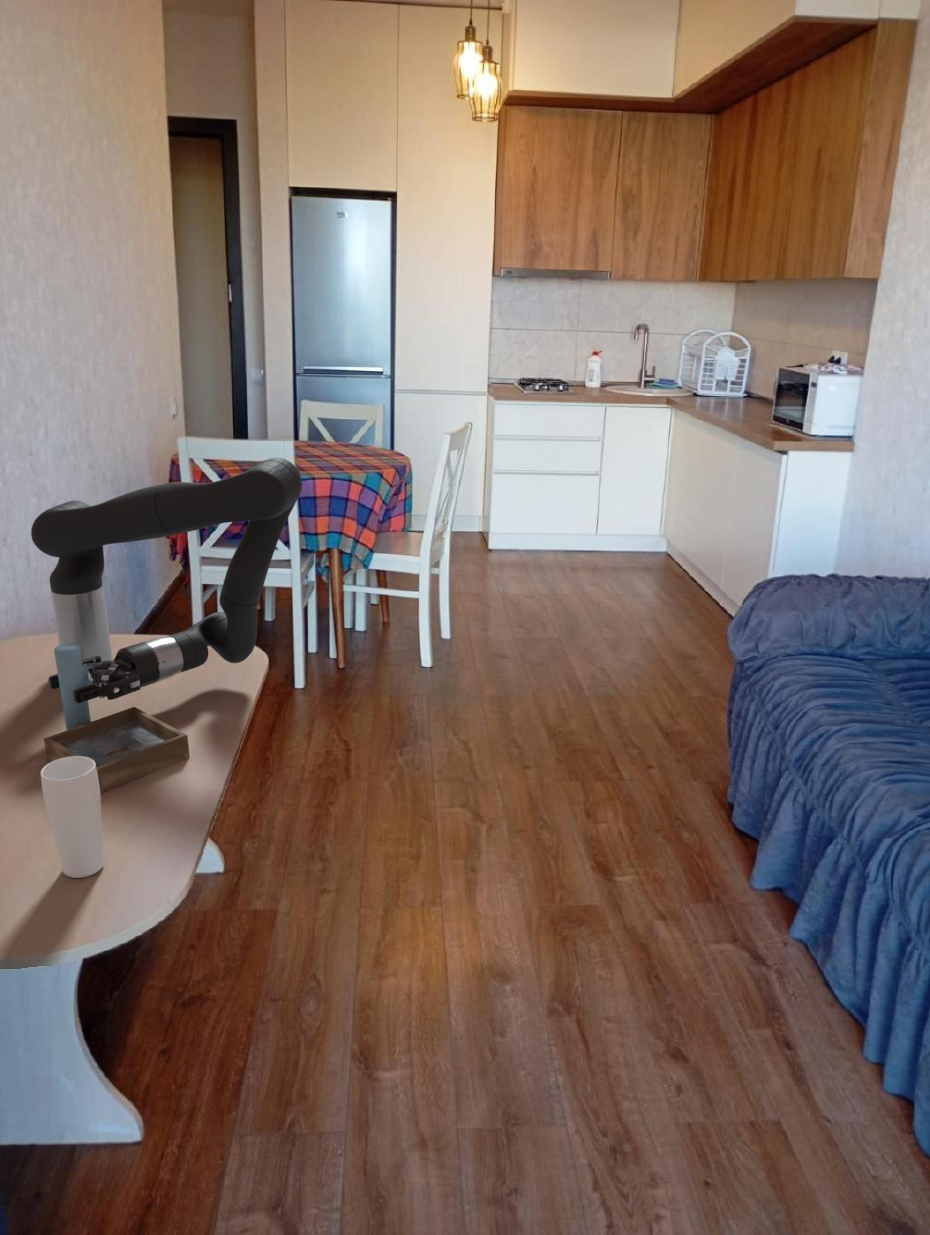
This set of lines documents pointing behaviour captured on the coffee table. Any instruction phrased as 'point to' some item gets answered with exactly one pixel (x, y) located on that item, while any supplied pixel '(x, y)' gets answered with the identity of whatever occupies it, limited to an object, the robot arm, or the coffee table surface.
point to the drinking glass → (75, 813)
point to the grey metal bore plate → (115, 741)
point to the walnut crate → (133, 763)
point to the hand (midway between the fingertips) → (62, 690)
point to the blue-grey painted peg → (71, 684)
